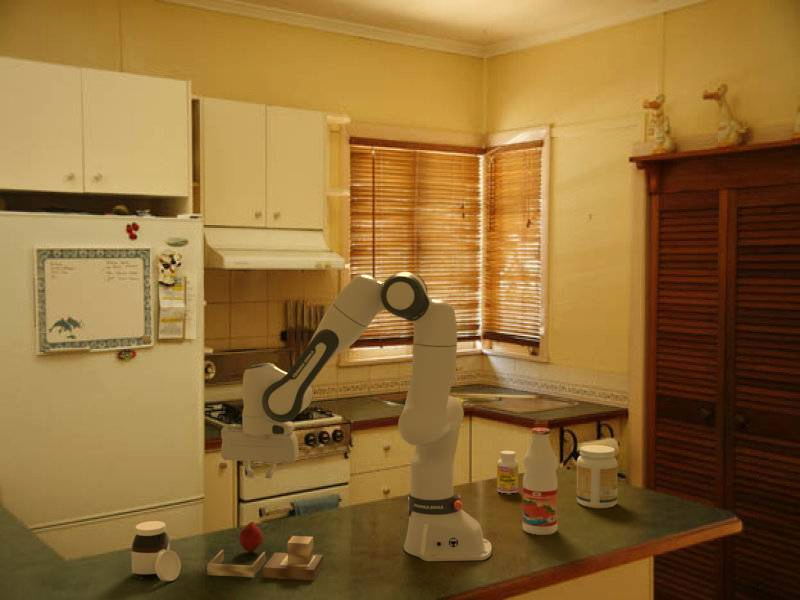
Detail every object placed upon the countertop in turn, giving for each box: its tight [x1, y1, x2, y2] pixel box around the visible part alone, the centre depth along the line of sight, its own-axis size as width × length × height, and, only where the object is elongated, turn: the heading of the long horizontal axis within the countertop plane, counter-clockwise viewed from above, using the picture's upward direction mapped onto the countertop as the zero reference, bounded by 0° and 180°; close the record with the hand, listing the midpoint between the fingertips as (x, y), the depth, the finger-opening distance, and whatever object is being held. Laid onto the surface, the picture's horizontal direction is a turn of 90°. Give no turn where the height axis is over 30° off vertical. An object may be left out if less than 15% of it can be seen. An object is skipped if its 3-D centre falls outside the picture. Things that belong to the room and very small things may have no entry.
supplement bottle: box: [496, 450, 519, 494], centre depth 270 cm, size 7×7×13 cm
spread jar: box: [131, 520, 182, 582], centre depth 198 cm, size 12×11×12 cm
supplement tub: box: [576, 444, 619, 509], centre depth 257 cm, size 12×12×17 cm
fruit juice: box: [522, 427, 559, 536], centre depth 232 cm, size 9×9×28 cm
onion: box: [238, 520, 264, 553], centre depth 214 cm, size 6×6×8 cm
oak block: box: [287, 535, 314, 565], centre depth 201 cm, size 5×5×5 cm
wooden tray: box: [206, 549, 324, 582], centre depth 202 cm, size 26×10×3 cm, turn 82°
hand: (259, 477), depth 221 cm, fingers open, 3 cm apart
